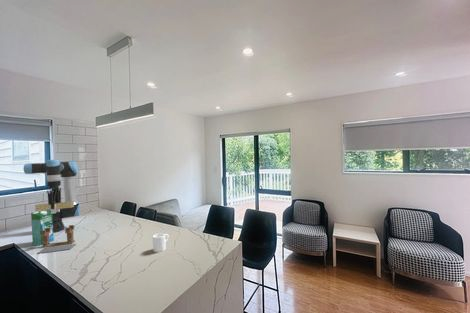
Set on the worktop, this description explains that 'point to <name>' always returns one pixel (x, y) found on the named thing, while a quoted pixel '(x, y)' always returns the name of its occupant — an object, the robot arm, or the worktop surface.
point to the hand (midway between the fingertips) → (55, 212)
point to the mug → (159, 242)
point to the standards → (47, 243)
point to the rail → (58, 206)
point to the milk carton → (41, 225)
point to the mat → (57, 248)
